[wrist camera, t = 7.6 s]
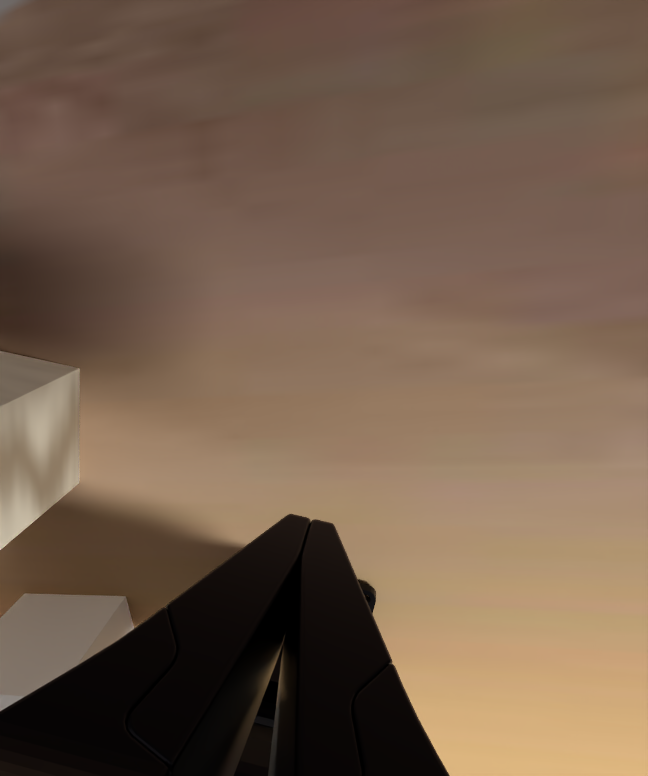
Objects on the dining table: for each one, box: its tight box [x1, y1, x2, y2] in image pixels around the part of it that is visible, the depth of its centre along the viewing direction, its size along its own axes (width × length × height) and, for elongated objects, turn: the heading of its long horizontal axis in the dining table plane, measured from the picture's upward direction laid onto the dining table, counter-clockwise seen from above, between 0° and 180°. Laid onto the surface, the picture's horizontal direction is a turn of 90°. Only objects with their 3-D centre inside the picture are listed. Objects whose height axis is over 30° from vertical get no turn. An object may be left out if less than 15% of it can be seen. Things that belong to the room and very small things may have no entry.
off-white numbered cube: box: [0, 593, 134, 711], centre depth 25 cm, size 6×6×6 cm
